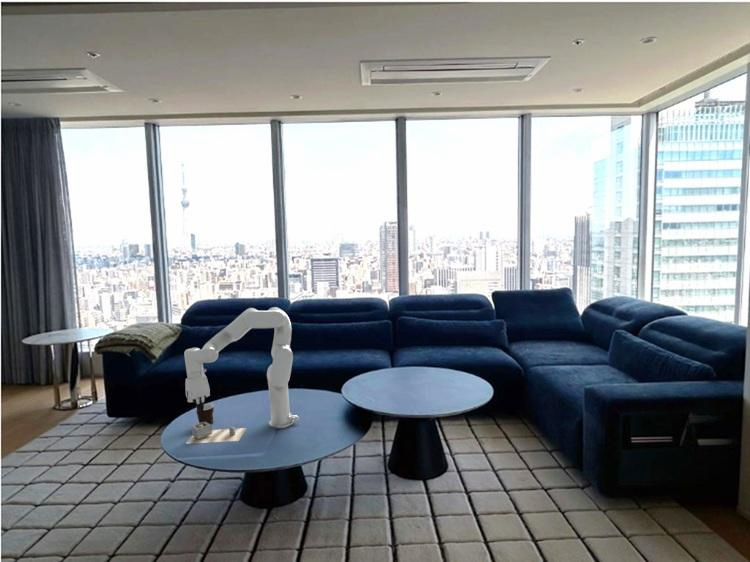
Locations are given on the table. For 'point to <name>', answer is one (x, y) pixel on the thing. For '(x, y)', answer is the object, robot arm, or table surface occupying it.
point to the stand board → (219, 435)
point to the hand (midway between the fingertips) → (200, 410)
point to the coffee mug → (206, 414)
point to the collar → (201, 430)
